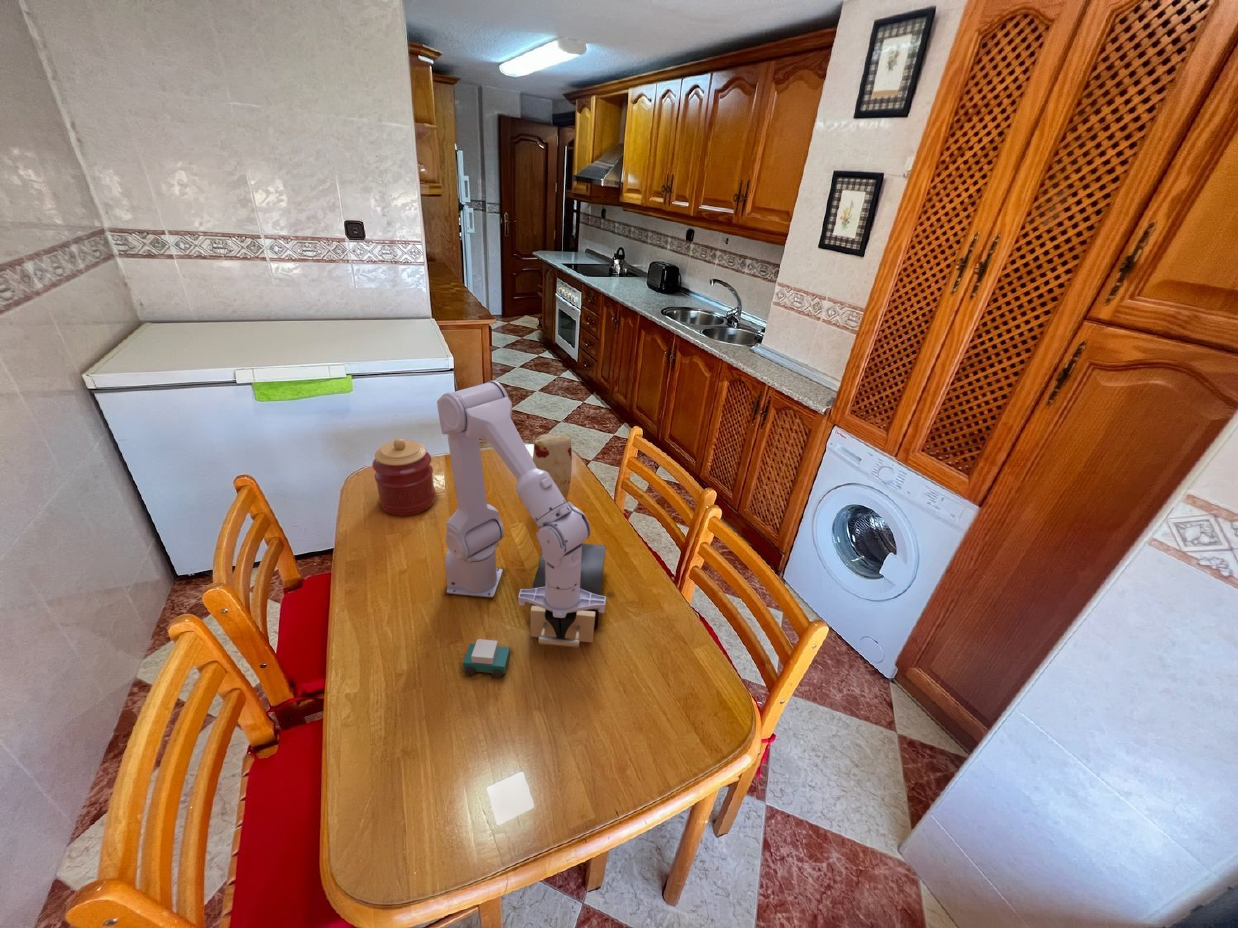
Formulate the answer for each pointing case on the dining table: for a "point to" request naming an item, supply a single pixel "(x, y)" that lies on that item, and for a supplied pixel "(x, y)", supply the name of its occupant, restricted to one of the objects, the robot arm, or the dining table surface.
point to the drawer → (576, 632)
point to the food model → (555, 459)
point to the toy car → (486, 658)
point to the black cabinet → (582, 572)
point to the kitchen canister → (404, 477)
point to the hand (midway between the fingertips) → (561, 634)
